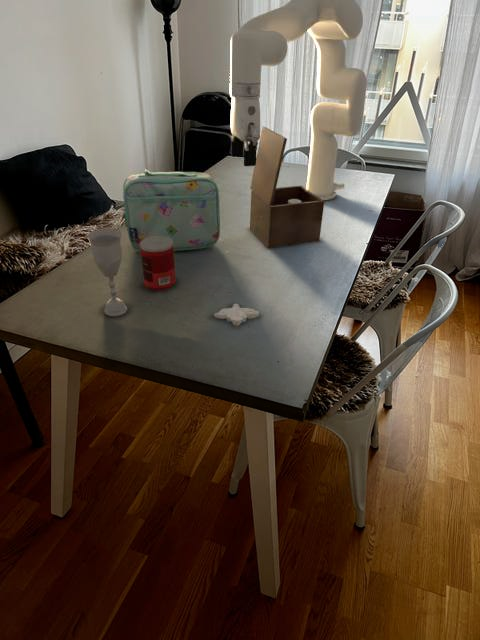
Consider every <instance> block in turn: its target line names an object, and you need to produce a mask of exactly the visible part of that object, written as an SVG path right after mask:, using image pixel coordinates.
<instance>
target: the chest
mask: <svg viewBox="0 0 480 640" xmlns="http://www.w3.org/2000/svg"><path fill="white" fill-rule="evenodd" d="M290 199H298V200H301V202H302V203H293V204H288V200H290ZM324 207H325V200H322V199H320V198H319V197H317V196H316V195H315V194H313V193H312V192H310V191H309V190H307V189H306V187H304V186H303V185H293V186H282V187H281V186H280V187H276V190H275V195H274V199H273V203H272V205H269V204H267V203H266V202H265V201H264V200H263V199H262V198H260V197H259V196H258V195H257V194H256V193H255V192H253V191H252V190H251V189H250V214H249V215H250V217H249V230H250V231H251V232H252V233H253V234H254V235H255V236H256V237H257V239H258V240H259V241H260V242H261V243H262V244H263V245H264V246H265V247H266V248H267V249H272V248H279V247H287V246H294V245H301V244H308V243H317V242H320V240H321V231H322V223H323V215H324Z"/></svg>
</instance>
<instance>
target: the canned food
mask: <svg viewBox="0 0 480 640" xmlns="http://www.w3.org/2000/svg"><path fill="white" fill-rule="evenodd" d="M139 253H140V261H141V270H142V278H143V279H142V280H143V284H144V286H145V287H146V288H147V289H149V290H151V291H165V290H168V289H171V288H172V287H173V286H174V285H175V283H176V280H177V279H176V265H175V264H176V261H175V251H174V245H173V240H172V239H171V238H169V237H165V236H152V237H148V238H145V239H143V240H142V241H141V242H140V252H139Z"/></svg>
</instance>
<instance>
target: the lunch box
mask: <svg viewBox="0 0 480 640" xmlns="http://www.w3.org/2000/svg"><path fill="white" fill-rule="evenodd" d="M122 185H123V186H122V187H123V188H122V191H123V192H122V197H123V209H122V211H123V212H124V213H122V216H121V220H120V222H123V220H124V223H125V228H126V231H127V235H128V240H129V243H130V244H131V247H132V248H133V249H134V250H135V251H137V252H139V253H141V252H140V242H141V241H142V240H143V239H145V238H148V237H152V236H165V237H169V238H171V239H172V240H173V245H174V252H180V251H181V252H182V251H192V250H193V251H194V250H201V249H202V250H203V249H206V248H210V247H212V246H214V245H215V244H217V243H218V242H219V239H220V234H221V211H220V193H219V191H220V190H219V186H218V184H217V183H216V181H215V180H214V178H213V177H212V176H211V175H210V174H208V173H205V172H200V171H199V172H197V171H155V172H153V171H152V172H150V171H149V170H148V169H144V171H143V172H140V173H136V174H133V175H130V176H128V177H126V178H125V180H124V182H123V184H122Z"/></svg>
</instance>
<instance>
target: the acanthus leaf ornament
mask: <svg viewBox="0 0 480 640" xmlns="http://www.w3.org/2000/svg"><path fill="white" fill-rule="evenodd" d="M259 315H260V311H258V310H255V309H254V308H248V307H240V305H239V304H238V303H234V304H232V306H231V307H227V308H222V309H219V311H218V312H215V313H214V314H213V317H214V318H217V319H221V320H224V319H226V321H227V322H231V323H232V325H233V326H235V327H238V326H240V325H241V323H245V322H246V321H247V319H255V318H258V317H259Z"/></svg>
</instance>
